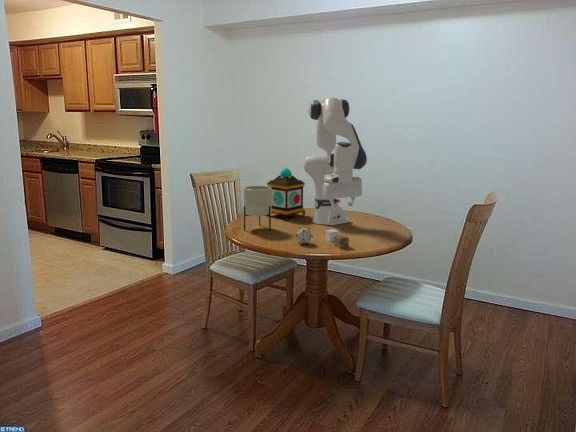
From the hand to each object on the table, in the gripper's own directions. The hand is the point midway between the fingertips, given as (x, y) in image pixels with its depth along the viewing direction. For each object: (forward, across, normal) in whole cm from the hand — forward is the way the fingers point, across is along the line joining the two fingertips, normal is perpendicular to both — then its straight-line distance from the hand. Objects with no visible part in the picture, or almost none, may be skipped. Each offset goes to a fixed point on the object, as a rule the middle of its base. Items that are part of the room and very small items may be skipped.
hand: (341, 206), depth 220 cm
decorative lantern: (+20, -4, -72) cm, 75 cm away
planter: (+20, +24, -49) cm, 58 cm away
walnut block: (+20, 0, 0) cm, 20 cm away
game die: (+20, +14, -12) cm, 27 cm away
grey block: (+20, -2, -12) cm, 23 cm away
